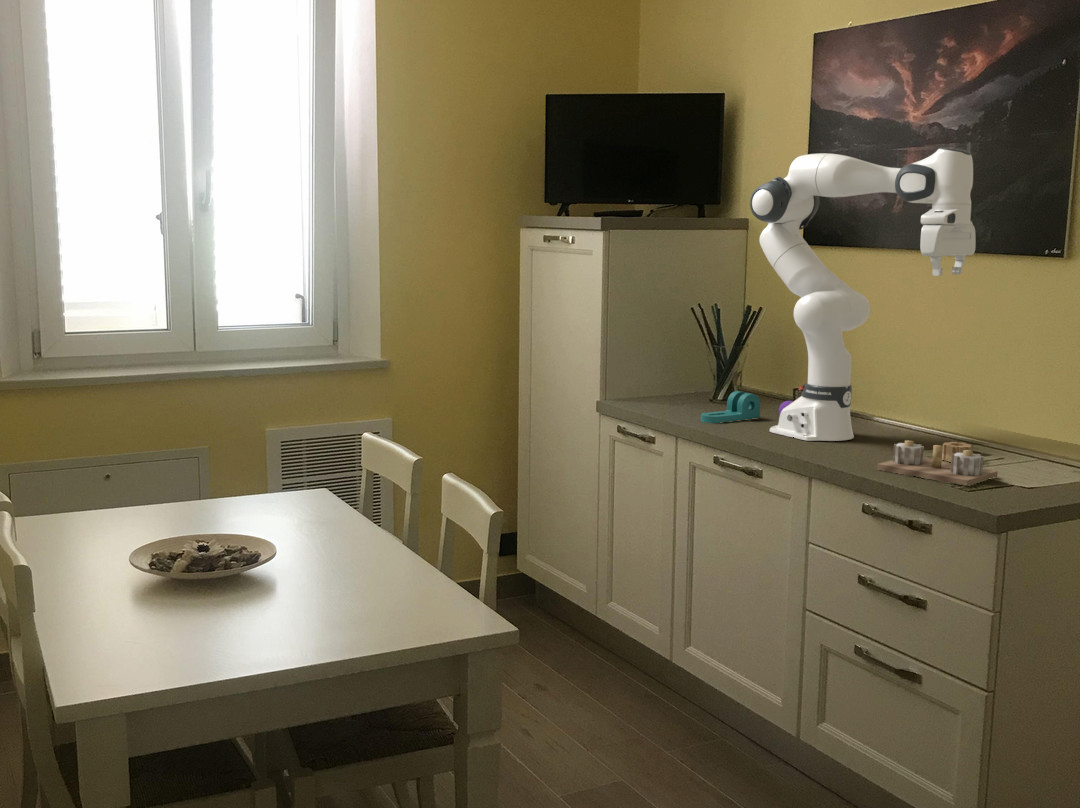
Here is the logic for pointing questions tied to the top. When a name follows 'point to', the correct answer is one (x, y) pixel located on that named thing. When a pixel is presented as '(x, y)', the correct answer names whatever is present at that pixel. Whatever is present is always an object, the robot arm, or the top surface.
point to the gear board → (934, 472)
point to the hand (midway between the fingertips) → (947, 275)
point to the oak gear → (953, 449)
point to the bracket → (736, 409)
